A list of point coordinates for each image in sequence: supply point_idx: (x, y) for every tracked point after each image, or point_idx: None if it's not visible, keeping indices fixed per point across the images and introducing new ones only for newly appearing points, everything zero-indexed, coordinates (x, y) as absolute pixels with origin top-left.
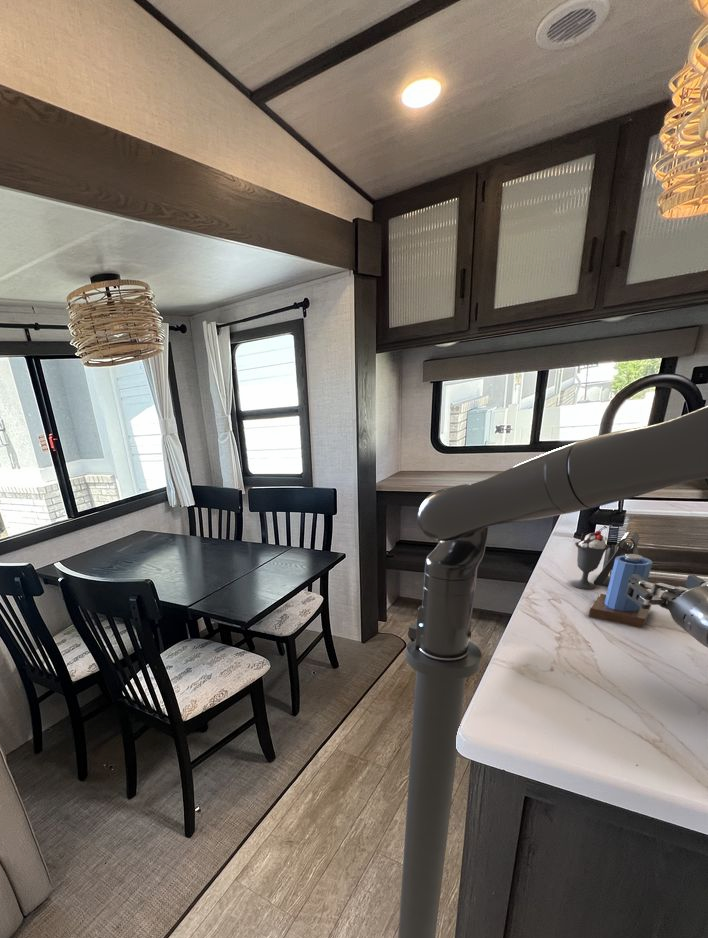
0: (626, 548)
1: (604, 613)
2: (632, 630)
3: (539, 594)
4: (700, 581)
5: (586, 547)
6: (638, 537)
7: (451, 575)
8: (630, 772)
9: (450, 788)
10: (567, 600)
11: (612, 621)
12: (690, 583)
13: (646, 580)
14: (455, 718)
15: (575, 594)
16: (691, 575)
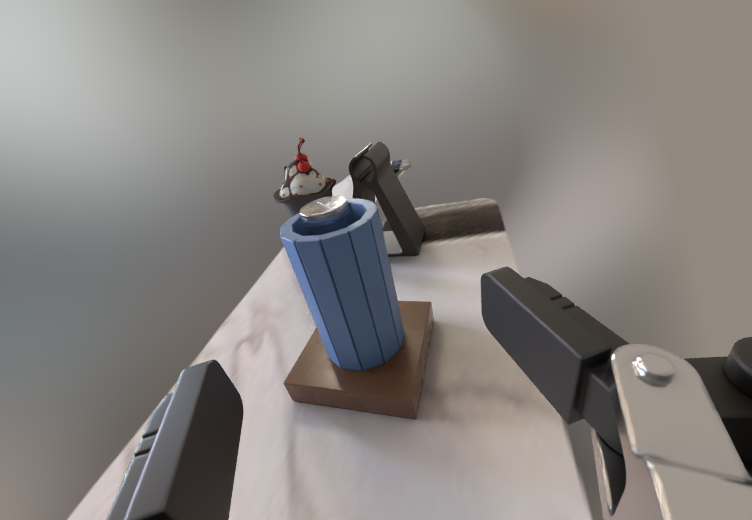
0: (370, 177)
1: (318, 393)
2: (388, 450)
3: (232, 327)
4: (571, 348)
5: (288, 196)
6: (385, 150)
7: None
8: None
9: None
10: (278, 332)
11: (345, 408)
12: (504, 326)
13: (381, 274)
14: None
15: (305, 301)
16: (496, 277)
